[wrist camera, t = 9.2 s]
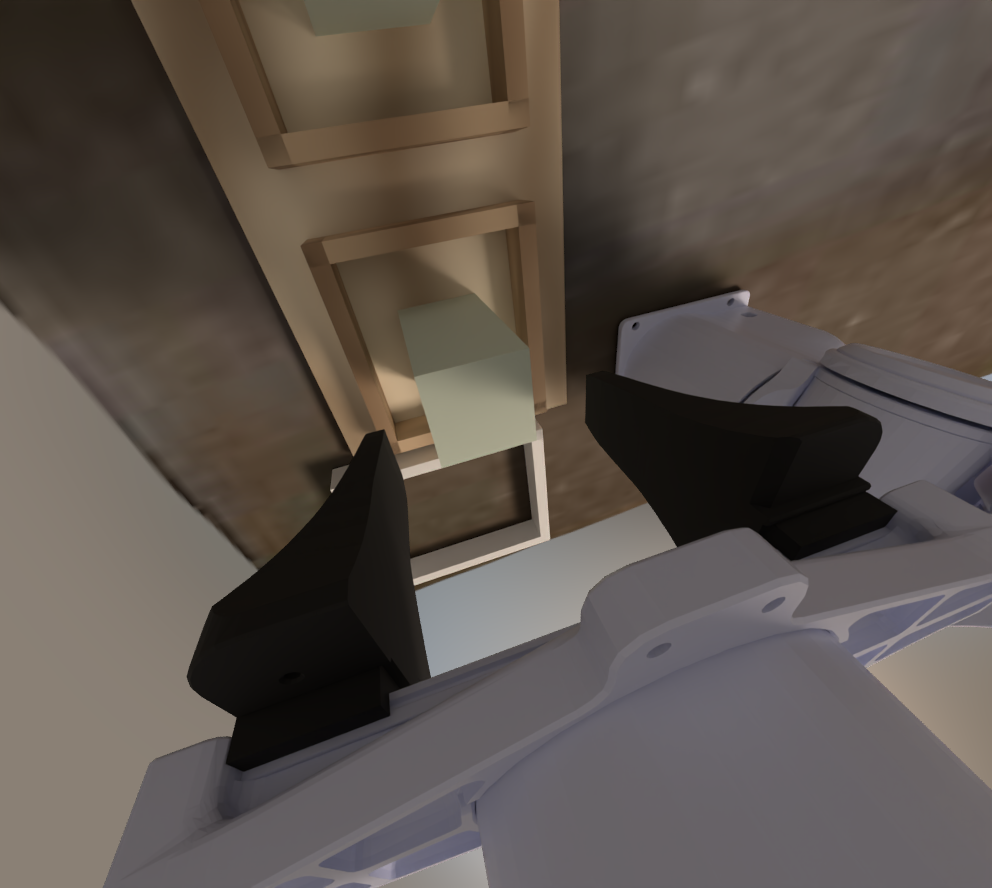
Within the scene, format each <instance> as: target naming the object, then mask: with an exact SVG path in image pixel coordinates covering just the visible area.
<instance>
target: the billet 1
mask: <svg viewBox="0 0 992 888" xmlns="http://www.w3.org/2000/svg"><path fill="white" fill-rule="evenodd" d="M439 1H440V0H304V3H305V6H306V9H307V12H308V15H309V18H310V21H311V24H312V27H313V30H314V33H315V35H316V36H325V35H334V34H343V33H352V32H361V31H370V30H379V29H388V28H397V27H406V26H416V25H425V24H430V23H431V20H432V18H433V15H434V13H435V10H436V8H437V6H438V3H439Z"/></svg>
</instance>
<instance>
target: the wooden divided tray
mask: <svg viewBox="0 0 992 888" xmlns="http://www.w3.org/2000/svg"><path fill="white" fill-rule="evenodd" d="M131 1H132V3H133V6H134V8H135V10H136V12H137V14H138V16H139V18H140V20H141V22H142V24H143V26H144V28H145V30H146V32H147V34H148V36H149V38H150V40H151V42H152V44H153V47H154V49H155V51H156V53H157V55H158V57H159V59H160V61H161V63H162V65H163V67H164V69H165V71H166V73H167V75H168V77H169V79H170V81H171V83H172V85H173V88H174V90H175V92H176V94H177V96H178V98H179V100H180V102H181V104H182V106H183V108H184V110H185V112H186V114H187V116H188V118H189V120H190V122H191V124H192V126H193V129H194V131H195V133H196V135H197V137H198V139H199V141H200V143H201V145H202V147H203V149H204V151H205V153H206V155H207V157H208V159H209V161H210V163H211V165H212V167H213V170H214V172H215V174H216V176H217V178H218V180H219V182H220V184H221V186H222V188H223V190H224V192H225V194H226V196H227V198H228V200H229V202H230V204H231V206H232V208H233V211H234V213H235V215H236V217H237V219H238V221H239V223H240V225H241V227H242V229H243V231H244V233H245V235H246V237H247V239H248V241H249V243H250V245H251V247H252V249H253V252H254V254H255V256H256V258H257V260H258V262H259V264H260V266H261V268H262V270H263V272H264V274H265V276H266V278H267V280H268V282H269V284H270V286H271V288H272V290H273V293H274V295H275V297H276V299H277V301H278V303H279V305H280V307H281V309H282V311H283V313H284V315H285V317H286V319H287V321H288V323H289V325H290V327H291V329H292V331H293V333H294V336H295V338H296V340H297V342H298V344H299V346H300V348H301V350H302V352H303V354H304V356H305V358H306V360H307V362H308V364H309V366H310V368H311V370H312V372H313V374H314V377H315V379H316V381H317V383H318V385H319V387H320V389H321V391H322V393H323V395H324V397H325V399H326V401H327V403H328V405H329V407H330V409H331V411H332V413H333V415H334V418H335V420H336V422H337V424H338V426H339V428H340V430H341V432H342V434H343V436H344V438H345V440H346V442H347V444H348V446H349V448H350V450H351V452H352V454H353V456H354V455H355V453H356V451H357V449H358V447H359V445H360V443H361V441H362V439H363V438H364V436H365V434H367V433H371V432H375V431H379V430H382V429H385V432H386V435H387V437H388V440H389V442H390V445H391V447H392V450H393V452H394V455H395V454H399V453H402V452H406V451H410V450H413V449H417V448H420V447H424V446H427V445H431V444H434V441H433V438H432V434H431V431H430V428H429V424H428V421H427V418H426V415H425V411H424V408H423V405H422V401H421V398H420V395H419V391H418V388H417V385H416V381H415V378H414V374H413V370H412V367H411V363H410V359H409V355H408V351H407V347H406V343H405V339H404V335H403V331H402V327H401V323H400V319H399V315H398V311H397V310H401V309H406V308H410V307H415V306H419V305H424V304H428V303H433V302H437V301H442V300H446V299H450V298H455V297H459V296H464V295H468V294H473V293H475V294H476V295H477V296H478V297H479V298H480V299H481V300H482V301H483V302H484V303H485V304H486V305H487V306H488V307H489V308H490V309H491V310H492V311H493V312H494V313H495V314H496V315H497V316H498V317H499V318H500V319H501V320H502V321H503V322H504V323H505V324H506V325H507V326H508V327H509V328H510V329H511V330H512V331H513V332H514V333H515V334H516V335H517V336H518V337H519V338H520V339H521V340H522V341H523V342H524V343H525V344H526V345H527V346H528V347H529V351H530V363H531V375H532V387H533V399H534V411H535V415H537V414H541V413H544V412H547V409H549V408H553V407H556V406H560V405H563V404H567V393H566V340H565V286H564V232H563V178H562V124H561V71H560V17H559V0H440V1H439V3H438V6H437V8H436V10H435V13H434V15H433V18H432V20H431V23H430V24H425V25H416V26H406V27H397V28H388V29H379V30H370V31H361V32H352V33H343V34H334V35H325V36H316V35H315V33H314V30H313V27H312V24H311V21H310V18H309V15H308V12H307V9H306V6H305V3H304V0H131Z"/></svg>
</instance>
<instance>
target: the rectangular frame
mask: <svg viewBox="0 0 992 888" xmlns="http://www.w3.org/2000/svg"><path fill="white" fill-rule="evenodd" d="M535 423H536V435H537V440H536V441H533V442H530V443H526V444H524V452H525V461H526V470H527V479H528V487H529V496H530V505H531V514H532V519H531V520H528V521H525V522H522V523H519V524H516V525H513V526H510V527H507V528H504V529H501V530H498V531H495V532H492V533H488V534H485V535H482V536H479V537H476V538H473V539H470V540H467V541H464V542H461V543H458V544H455V545H452V546H449V547H445V548H442V549H439V550H436V551H433V552H430V553H427V554H424V555H421V556H418V557H415V558H412V559H410V561H411V570H412V576H413V582H414V585H417V584H420V583H423V582H426V581H429V580H432V579H435V578H438V577H441V576H444V575H447V574H450V573H453V572H456V571H459V570H462V569H465V568H467V567H470V566H473V565H476V564H479V563H482V562H485V561H488V560H491V559H494V558H497V557H500V556H503V555H506V554H509V553H512V552H515V551H518V550H521V549H524V548H527V547H530V546H533V545H536V544H539V543H542V542H545V541H548V540H550V531H549V517H548V503H547V488H546V474H545V460H544V445H543V431H542V428H541V426H540V425H539V423H538V422H537V421H536V419H535ZM395 458H396V460H397V463H398V465H399V468H400V470H401V473H402V476H403V479H406V478H410V477H413V476H416V475H420V474H423V473H427V472H430V471H433V470H437V469H440V468H442V467H441V464H440V461H439V458H438V454H437V451H436V448H435V444H431V445H427V446H424V447H420V448H417V449H413V450H410V451H406V452H402V453H399V454H395ZM348 466H349V465H346V466H343V467H339V468H336V469H332V478H331V487H330V491H331V492H333V490H334V489H335V487H336V486H337V484H338V483H339V481H340V480H341V478H342V476H343V475H344V473H345V471H346V469H347V468H348Z"/></svg>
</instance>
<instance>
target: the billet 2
mask: <svg viewBox="0 0 992 888" xmlns="http://www.w3.org/2000/svg"><path fill="white" fill-rule="evenodd" d="M397 311H398V315H399V319H400V323H401V327H402V331H403V335H404V339H405V343H406V347H407V351H408V355H409V359H410V363H411V367H412V370H413V374H414V378H415V381H416V385H417V388H418V391H419V395H420V398H421V401H422V405H423V408H424V411H425V415H426V418H427V421H428V424H429V428H430V431H431V434H432V438H433V441H434V444H435V448H436V451H437V454H438V458H439V461H440V464H441V467H442V468H444V467H448V466H451V465H454V464H458V463H461V462H465V461H468V460H471V459H475V458H478V457H482V456H485V455H489V454H492V453H495V452H499V451H502V450H506V449H509V448H512V447H516V446H519V445H523V444H526V443H530V442H533V441H536V440H537V435H536V423H535V411H534V399H533V387H532V375H531V363H530V351H529V347H528V346H527V345H526V344H525V343H524V342H523V341H522V340H521V339H520V338H519V337H518V336H517V335H516V334H515V333H514V332H513V331H512V330H511V329H510V328H509V327H508V326H507V325H506V324H505V323H504V322H503V321H502V320H501V319H500V318H499V317H498V316H497V315H496V314H495V313H494V312H493V311H492V310H491V309H490V308H489V307H488V306H487V305H486V304H485V303H484V302H483V301H482V300H481V299H480V298H479V297H478V296H477V295H476V294H475V293H473V294H468V295H464V296H459V297H455V298H450V299H446V300H442V301H437V302H433V303H428V304H424V305H419V306H415V307H410V308H406V309H401V310H397Z"/></svg>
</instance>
